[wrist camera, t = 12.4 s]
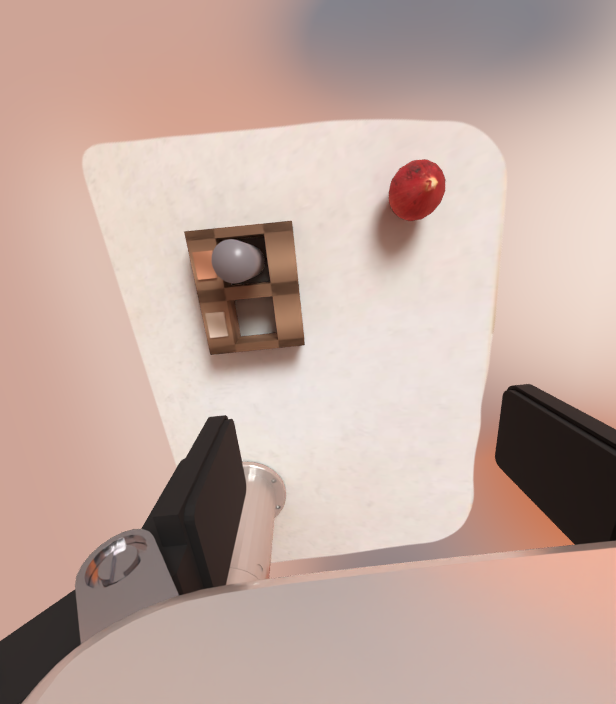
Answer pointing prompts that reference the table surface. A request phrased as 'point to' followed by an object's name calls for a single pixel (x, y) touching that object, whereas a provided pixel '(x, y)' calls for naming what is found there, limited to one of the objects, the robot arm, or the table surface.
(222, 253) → the plug
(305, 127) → the table surface
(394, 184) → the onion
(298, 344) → the socket block
